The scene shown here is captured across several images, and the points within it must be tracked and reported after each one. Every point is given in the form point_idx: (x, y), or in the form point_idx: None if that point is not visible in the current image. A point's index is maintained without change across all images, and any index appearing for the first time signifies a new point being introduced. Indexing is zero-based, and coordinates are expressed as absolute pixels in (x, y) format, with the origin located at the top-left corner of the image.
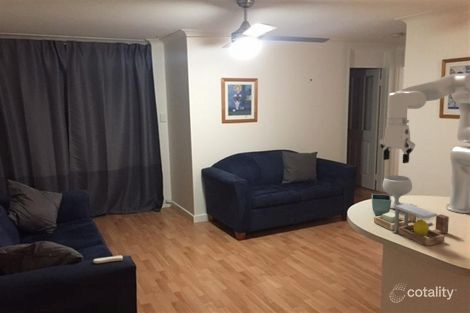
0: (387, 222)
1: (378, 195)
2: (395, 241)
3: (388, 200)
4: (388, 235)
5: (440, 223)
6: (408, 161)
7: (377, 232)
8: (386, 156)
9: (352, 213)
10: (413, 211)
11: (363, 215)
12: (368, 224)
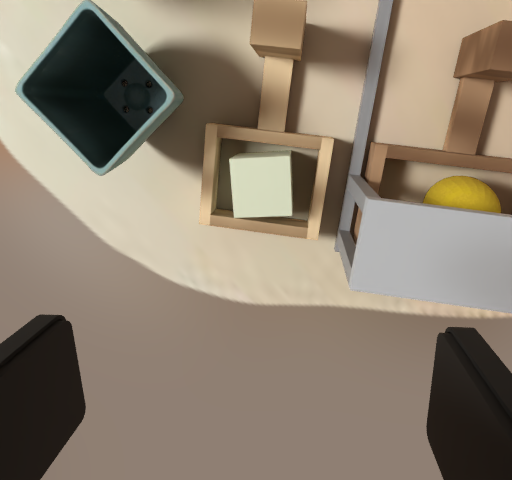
0: (285, 233)
1: (46, 63)
2: (394, 308)
3: (165, 110)
4: (339, 281)
5: (503, 76)
6: (475, 338)
7: (291, 289)
8: (50, 421)
9: (61, 197)
10: (482, 297)
11: (107, 177)
12: (206, 249)
